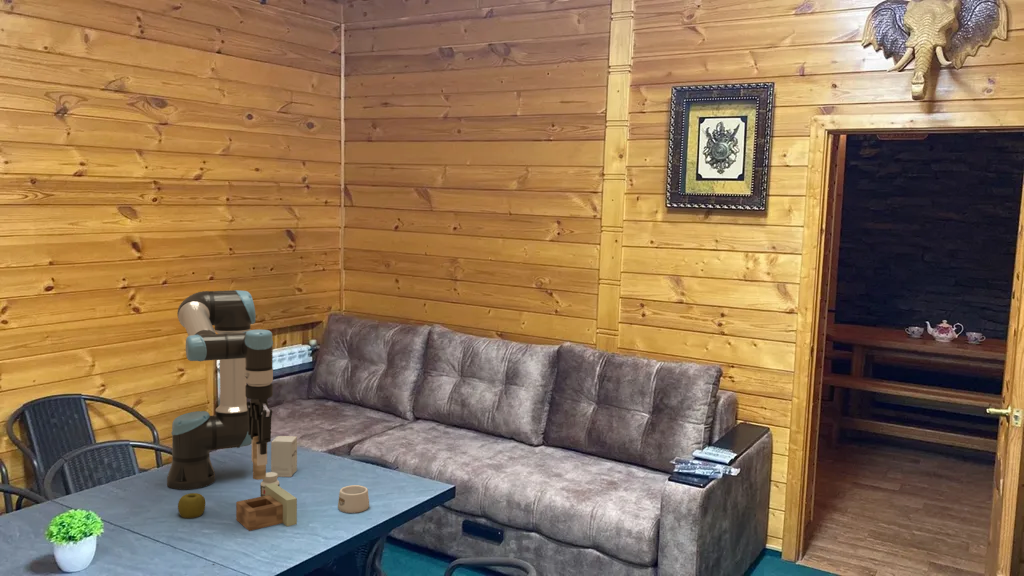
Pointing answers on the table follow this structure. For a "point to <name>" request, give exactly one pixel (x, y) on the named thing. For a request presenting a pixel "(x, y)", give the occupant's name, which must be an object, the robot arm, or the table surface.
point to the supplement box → (284, 455)
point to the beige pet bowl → (353, 499)
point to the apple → (191, 505)
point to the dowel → (260, 470)
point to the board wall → (284, 503)
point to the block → (259, 512)
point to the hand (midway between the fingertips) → (259, 462)
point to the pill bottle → (268, 482)
